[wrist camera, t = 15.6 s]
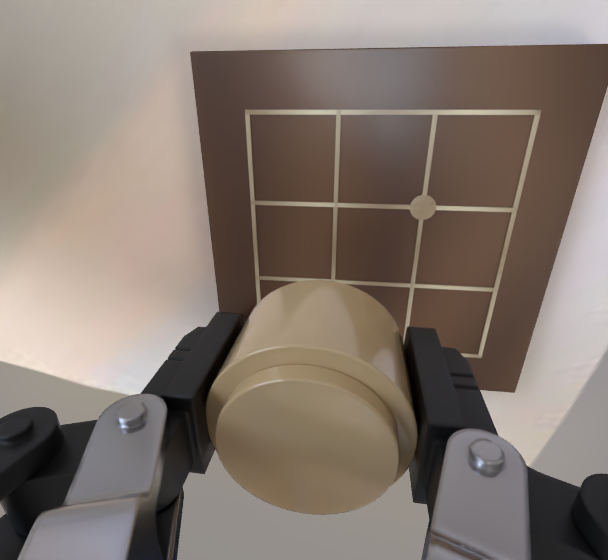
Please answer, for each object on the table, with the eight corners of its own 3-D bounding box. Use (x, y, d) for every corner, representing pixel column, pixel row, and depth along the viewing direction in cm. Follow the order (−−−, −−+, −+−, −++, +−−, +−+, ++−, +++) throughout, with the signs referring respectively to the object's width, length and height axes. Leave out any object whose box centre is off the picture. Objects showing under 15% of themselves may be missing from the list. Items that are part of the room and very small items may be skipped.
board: (231, 357, 29) (225, 370, 28) (200, 54, 20) (188, 51, 19) (506, 378, 27) (515, 394, 25) (601, 47, 18) (622, 43, 17)
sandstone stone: (251, 394, 13) (207, 512, 9) (242, 266, 11) (181, 350, 7) (393, 409, 12) (406, 541, 8) (412, 276, 10) (439, 374, 6)
